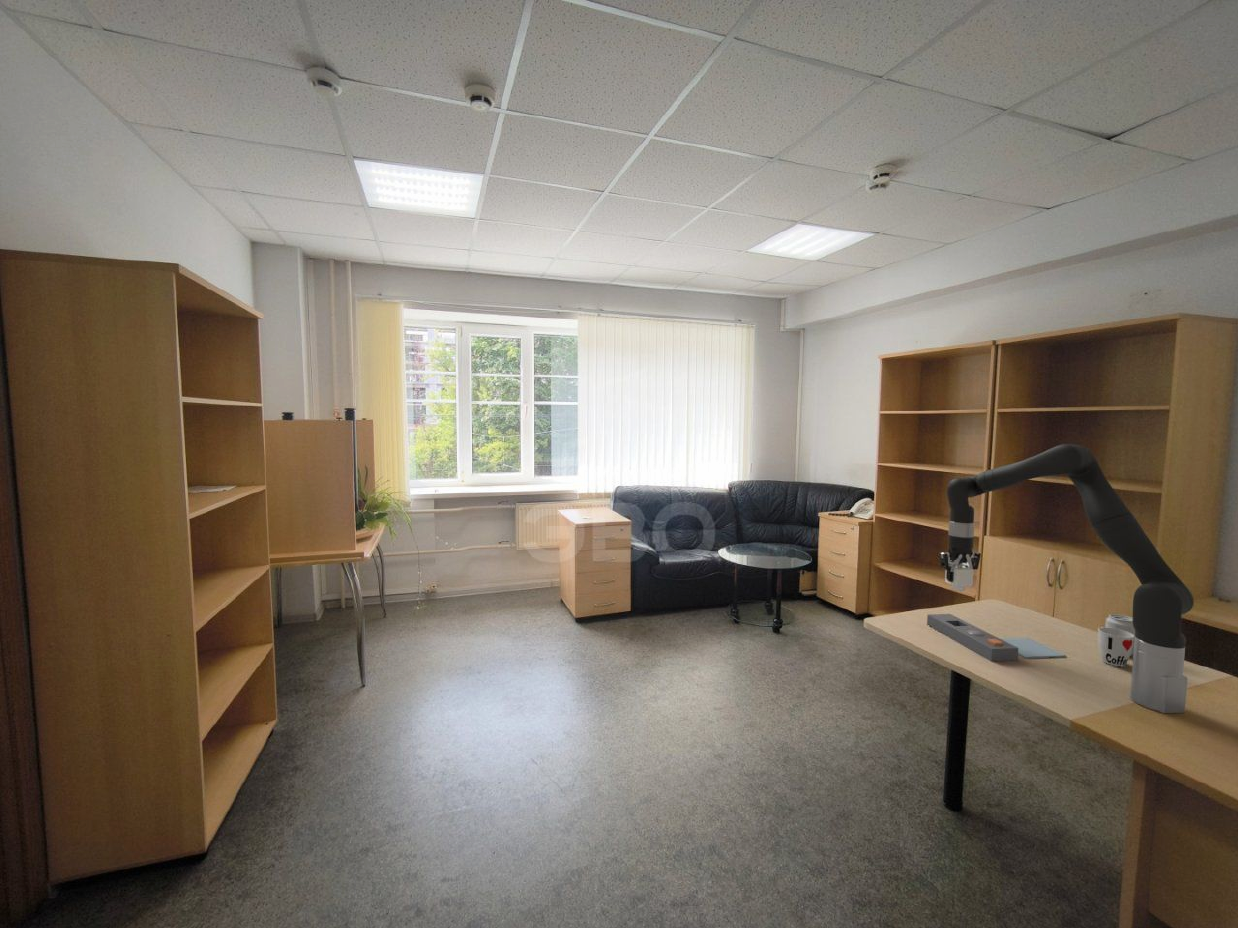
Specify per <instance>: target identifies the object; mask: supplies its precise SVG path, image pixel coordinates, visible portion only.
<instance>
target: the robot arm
mask: <svg viewBox="0 0 1238 928" xmlns="http://www.w3.org/2000/svg"><path fill="white" fill-rule="evenodd" d="M1057 475H1063V476H1067V477H1068V478H1069V480H1070V481H1071V482H1072V483H1073V485H1074V486H1075V488H1076V489H1077V490H1078V492H1079V494H1080V497H1081V500H1082V503H1083V504H1082V505H1083V508H1084V511H1085V515H1086V518H1087V520H1088V522H1089V524H1090V526H1091V527H1092V529H1093V530H1094V531H1095V533H1096V535H1097V536H1098V539H1100V540H1101V542H1102V543H1103V544H1104V545H1105V546H1106V547H1107V548H1108V549H1110V551H1112V552H1113V553H1114V554H1115V555H1116V556H1118V558H1120V559H1121V560H1122V561H1124V562H1125V563H1126V564H1127V565H1128V567H1129V568H1130V569H1131V570H1132V572H1133V573H1134V574H1135V577H1137V579H1138V580H1139V582H1140V585H1139V586H1138V587H1137V588H1136V590H1135V591H1134V594H1133V598H1132V599H1133V600H1132V618H1133V627H1134V629H1135V642H1134V654H1133V655H1132V656H1133V657H1132V671H1131V682H1130V683H1131V685H1130V699H1131V701H1133V702H1134V703H1136V704H1139V706H1142V707H1144V708H1147V709H1150V710H1153V711H1157V712H1160V713H1162V714H1179V713H1181V714H1182V713H1183V714H1184V713H1185V712H1186V702H1187V701H1186V700H1187V691H1188V689H1187V688H1188V677H1187V676H1186V675H1184V666H1185V657H1186V656H1185V655H1186V654H1185V652H1186V644H1187V639H1186V638H1187V637H1186V636H1185V635H1184V634H1183V633H1182V615H1184V614H1188V613H1189V612H1190V611H1191V610H1192V609H1193V607H1194V603H1195V601H1194V596H1193V594H1192V592H1191V591H1190V589H1189V588H1188V586H1186V584H1185V583H1184V582H1183V581H1182V580H1181V578H1179V576H1177V574H1176V573H1175V572H1174V571H1173V570H1172V568H1171V567H1170V566H1169V565H1168V564H1167V563H1166V561H1165V560H1164V559H1163V557H1162V556H1161V554H1160V553H1159V551H1158V550H1157V549H1156V546H1155V544H1153V542H1152V541H1151V539H1150V538H1149V536H1148V535H1147V533H1146V531H1144V529H1143V528H1142V526H1141V525H1140V522H1139V521H1138V519H1137V518H1136V517H1135V516H1134V514H1133V513H1132V511H1130V509H1129V508H1128V506H1127V505H1126V503H1124V501H1123V499H1122V498H1121V497H1120V496H1119V494H1118V493H1117V491H1116V490H1115V488H1114V487H1112V485H1111V484H1110V483H1109V481H1108V479H1107V478H1106V476H1105V474H1104V472H1103V471H1102V468H1101V467H1100V464H1099V463H1098V461H1097V459H1096V456H1095V455H1094V454H1093V452H1092V451H1091V450H1090V449H1089V448H1087V447H1086V446H1083V445H1080V444H1074V443H1073V444H1069V443H1068V444H1067V443H1062V444H1059V445H1056V446H1054V447H1051V448H1049V449H1047V450H1045V451H1043V452H1041V453H1039V454H1036V455H1034V456H1031V457H1028V458H1026V459H1023V460H1020V461H1016V462H1013V463H1010V464H1006V465H1002V466H999V467H994V468H991V469H988V470H985V471H982V472H979V473H978V474H976V475H972V476H968V477H960V478H959V477H958V478H957V477H956V478H953V479H952V480H950V481H949V482H948V485H947V487H946V495H947V500H948V505H949V508H950V509H949V510H950V512H949V524H948V534H947V535H948V536H947V546H948V550H947V552H943V551H942V552H941V551H940V552H939V560H940V561H939V562H940V568H941V569H943V570H945V572H946V571H947V572H946V579H947V580H948V581H950V582H953V577H954V572H953V571H954V568H955V567H956V566H957V565H958V563H963V566H965V567H968V568H971V569H973V571H974V570H979V566H980V560H981V556H982V555H981V553H980V552H977V551H973V549H974V544H975V524H974V522H975V521H974V520H975V508H974V507H973V506H971V505H970V503H969V502H970V501H969V498H974V497H977V496H981V495H984V494H987V493H989V492H996V491H999V490H1003V489H1006V488H1011V487H1013V486H1016V485H1019V484H1021V483H1024V482H1027V481H1029V480H1032V479H1037V478H1040V477H1041V478H1042V477H1048V476H1057ZM950 567H951V568H950Z"/></svg>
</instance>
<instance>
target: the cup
mask: <svg viewBox="0 0 1238 928" xmlns="http://www.w3.org/2000/svg"><path fill="white" fill-rule="evenodd" d="M1133 640H1134V635H1133V634H1131V633H1129V632H1126V631H1123V630H1119V629H1114V628H1107V627H1105V626H1104V627H1101V626H1100V627H1098V628H1097V642H1098V649H1099V654H1100V656H1101V657H1100V658H1101V660H1102V662H1103V663H1104V662H1105V663H1104V664H1106V663H1107V664H1106V665H1109V664H1110V665H1109V666H1112V665H1114V666H1113V667H1117V666H1121V667H1120V668H1123V666H1124V667H1126V665H1127V663H1128V661H1129V659H1130V657H1131V656H1130V654H1131V651H1132V646H1133Z"/></svg>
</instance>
